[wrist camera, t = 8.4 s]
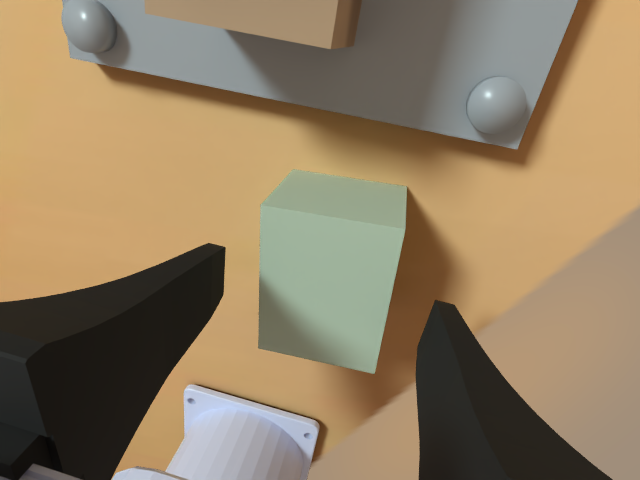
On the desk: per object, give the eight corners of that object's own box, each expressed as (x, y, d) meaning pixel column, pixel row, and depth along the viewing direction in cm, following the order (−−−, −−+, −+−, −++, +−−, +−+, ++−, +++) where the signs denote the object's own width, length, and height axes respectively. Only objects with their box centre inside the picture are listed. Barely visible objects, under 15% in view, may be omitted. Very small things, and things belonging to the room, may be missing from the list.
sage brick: (382, 308, 18) (374, 374, 14) (287, 289, 19) (258, 348, 15) (406, 185, 15) (405, 229, 12) (294, 168, 16) (260, 204, 12)
